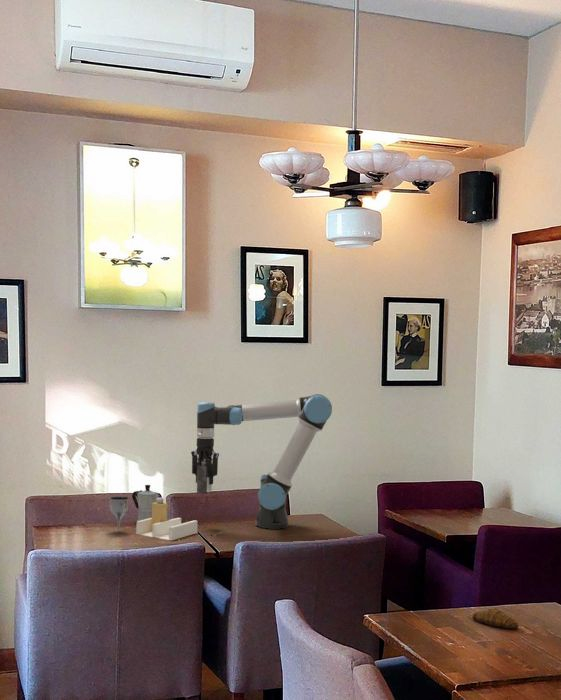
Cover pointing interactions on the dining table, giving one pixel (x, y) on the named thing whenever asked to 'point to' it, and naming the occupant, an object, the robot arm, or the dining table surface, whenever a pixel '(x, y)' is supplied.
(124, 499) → the wine glass
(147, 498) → the coffee maker
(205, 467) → the dark grey bottle
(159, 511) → the ochre peg
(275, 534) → the dining table surface
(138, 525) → the comb rack
